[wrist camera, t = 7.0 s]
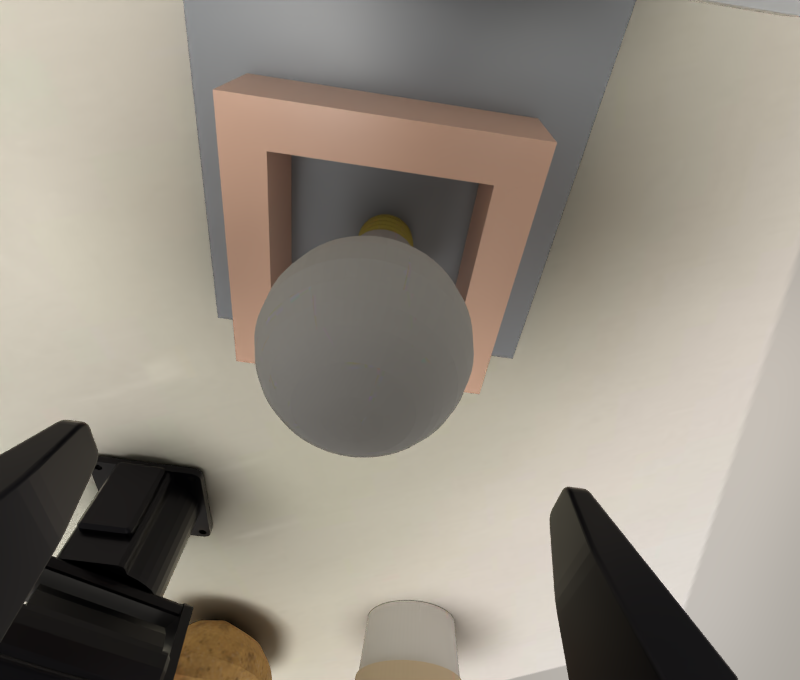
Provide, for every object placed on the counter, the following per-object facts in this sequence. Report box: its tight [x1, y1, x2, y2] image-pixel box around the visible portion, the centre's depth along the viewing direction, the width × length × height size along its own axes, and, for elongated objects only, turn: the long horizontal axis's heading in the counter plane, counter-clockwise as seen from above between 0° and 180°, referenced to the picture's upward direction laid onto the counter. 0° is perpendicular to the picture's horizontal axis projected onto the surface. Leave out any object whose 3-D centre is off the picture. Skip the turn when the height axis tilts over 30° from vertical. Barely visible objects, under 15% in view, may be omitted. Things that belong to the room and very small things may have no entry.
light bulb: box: [254, 214, 474, 457], centre depth 14 cm, size 5×5×10 cm
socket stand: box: [183, 0, 800, 394], centre depth 13 cm, size 17×13×10 cm
